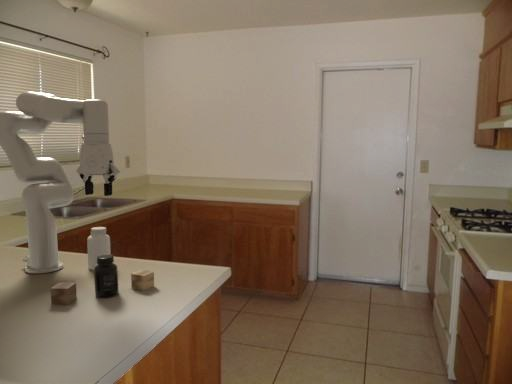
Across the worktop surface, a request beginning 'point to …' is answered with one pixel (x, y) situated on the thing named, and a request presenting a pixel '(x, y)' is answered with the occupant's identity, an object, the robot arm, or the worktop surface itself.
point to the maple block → (142, 280)
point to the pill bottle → (97, 245)
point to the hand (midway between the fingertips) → (98, 194)
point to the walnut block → (63, 293)
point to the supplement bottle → (106, 277)
